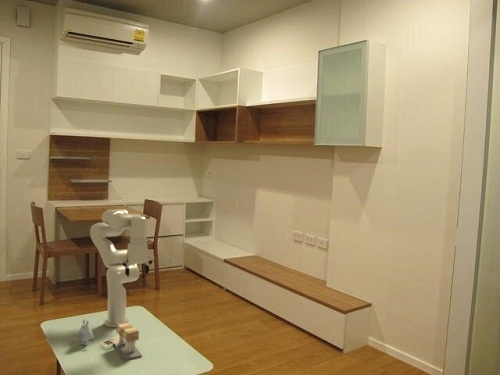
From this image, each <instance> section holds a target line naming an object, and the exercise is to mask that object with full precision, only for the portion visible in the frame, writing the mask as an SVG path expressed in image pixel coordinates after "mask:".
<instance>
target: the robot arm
mask: <svg viewBox="0 0 500 375" xmlns="http://www.w3.org/2000/svg"><path fill="white" fill-rule="evenodd" d="M146 218H147V217H145V216H142V215H140V214H139V213H129V212H128V211H127V210H126V209H124V208H122V209H108V210H105V211H104V212H103V213H102V214H101V221H102V222H97V223H94V224H93V225H91V227H90V230H89V232H90V233H89V234H90V238H91V241H92V243H93V245H94V246H95V247H96V248H97V251H98V252H99V254H100V257H101V260H102V262H103V264H104V266H105V267H106V268H108V269H107V271H106V282H107V318H106V319H105V320H104V326H106V327H108V328H116V324H118V323H122V322H127V323H129V319H128V318H127V317H126V316H127V311H126V310H127V290H126V288H125V287H124V286H123V284H125V283H132V282H135V281H137V280H138V279H140V269H139V266H138V264H141V265H142V264H145V265H144V274H145V275H149V272H150V266H151V265H152V263H153V261H154V260H155V259H156V257H155V256H153V255H151V254H149V249H148V248H149V247H148V244H147V242H148V241H149V238H148V237H147V219H146ZM125 230H130V232H129V233H130V238H129V241H130V242H129V243H128V244H127V249H116V247H115V245H114V243H113V242H112V241H111V240H109V239H108V238H111V237H119V236H121V235H122V234H123V233H124V231H125ZM149 258H150V260H149Z"/></svg>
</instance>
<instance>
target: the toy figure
mask: <svg viewBox="0 0 500 375" xmlns="http://www.w3.org/2000/svg"><path fill="white" fill-rule="evenodd" d="M77 335H78V339H79V340H80V341H81V343H80V345H84V346H88V345H89V344H90V343H89V342H90V340H91V339H92V340H93V339H94V334H93V331H92V328H91V326H90V322H89V320H85V319H82V325H81V328H80V329H79V330H78V331H77Z"/></svg>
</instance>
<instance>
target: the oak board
mask: <svg viewBox="0 0 500 375" xmlns="http://www.w3.org/2000/svg"><path fill="white" fill-rule="evenodd" d="M115 333H116V334H118V335H120V336H122V337H123V338H124V340H126V341H128V342H131V341H135V342H136V341H138V340H139V339H140V331H139V330H138V329H137V328H135V327H134V326H133V325H131V324H130V323H129V322H128V323H127V322H122V323H118V324H116V327H115Z"/></svg>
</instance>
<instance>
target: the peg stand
mask: <svg viewBox="0 0 500 375" xmlns="http://www.w3.org/2000/svg"><path fill="white" fill-rule="evenodd" d="M118 335H119V334H118ZM118 338H119V339H118V341H119V343H118V344H116V345H115V346H114V348H115V349H116V350H117V352H118V354H119V355H120V356H121V358H122V360H123V361H124V362H125V361H131V360H134V359H139V358H142V357H143V356H142V354H141V352H140V351H139V349H138V348H137V347H136V340H135V341H131V342H128V341H126V340H125V339H124V338H123V337H122V336H120V335H119V336H118ZM124 340H125V342H124Z"/></svg>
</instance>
